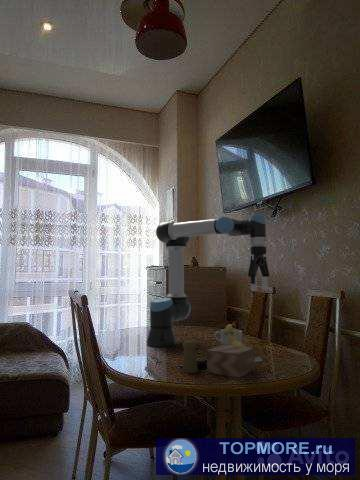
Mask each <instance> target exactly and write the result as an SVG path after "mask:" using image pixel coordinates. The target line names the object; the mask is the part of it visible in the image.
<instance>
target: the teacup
mask: <svg viewBox="0 0 360 480" xmlns="http://www.w3.org/2000/svg"><path fill="white" fill-rule="evenodd" d="M224 330H225V328H224V329H221V330H220V331H219V330H217V331H215V333H213V336H214V339H215V340H216V341H218V342H219V343H220V344H221V345H223V344H224V345H229V342H230V338H231V333H230V334H228V335H225V333H224ZM217 334H219V336H220V338H218V337H217ZM236 340H237V341H238V342H240V343H243V342H242V341H243V331H242V330H240V329H237V328H236Z"/></svg>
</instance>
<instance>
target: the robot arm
mask: <svg viewBox="0 0 360 480" xmlns="http://www.w3.org/2000/svg"><path fill="white" fill-rule="evenodd" d="M266 226H267V225H266V215H264V214H262V213H261V214H259V213H258V214H256V213H255V214H251V215H250V216H249V219H245V220H243V219H241V220H238V219H235V218H231V217H229V216H220V217H218V218H212V219H201V220H194V221H193V220H192V221H183V222H182V221H181V222H176V221H163V222H161V223H159V224H158V225H157V227H156V230H155V235H156V237H157V239H158V240H159V241H160V242H162V243H163V244H165V249H167V250H168V293H167V294H166V295H165V297H161V298H160V297H159V298H154V299H153V300H151V301H150V307H149V311H150V312H149V315H150V316H149V324H150V325H149V327H150V330H149V333H148V335H147V339H146V345H147V346H148V347H156V348H157V347H158V348H163V347H165V348H166V347H167V348H168V347H171V346H175V345H177V340H176V339H177V338H176V336H175V332H174V329H173V327H174V326H173V324H174V323H173V322H180V321H183V320H186V319H187V318H188V317H189V316H190V314H191V310H192V307H191V304H190V302H189V301H188V295H187V294H186V293H185V264H184V263H185V262H184V261H185V260H184V259H185V255H184V254H185V249H186V248H187V244H188V242H189V241H190V240H191V239H190V238H191V237H198V236H199V237H200V236H209V235H210V236H211V235H225V234H227V235H228V236H230V237H239V236H240V237H241V236H249V241H250V242H249V245H250V246H251V247H250V262H249V268H248V274H247V277H249V278H250V291H251V292H258V280H257V272H258V269H259V270H260V273H261V290H262V291H268V290H269V289H268V287H269V286H268V282H269V281H268V277H270V272H269V267H268V266H269V265H268V262H267V257H266V256H264V255H267V241H268V239H267V233H266V232H267V229H266Z"/></svg>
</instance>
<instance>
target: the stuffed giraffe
mask: <svg viewBox="0 0 360 480" xmlns="http://www.w3.org/2000/svg"><path fill="white" fill-rule="evenodd" d="M236 327H237V326H236V322H235V321H233V322H232V323H231V324H230V323H229V324H227V325H226V326H225V328H224V329H225V330H224V333H225V335H228V334H230V333H231V338H230V342H229V345H233V346H242V347H247V346H246V345H245V344H244V343H243V342H241V343H240V342H238V341H237V340H236V329H237V328H236ZM259 361H260V362H261V361H263V359H262V358H261V356H257V357H254V362H259Z"/></svg>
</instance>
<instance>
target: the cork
mask: <svg viewBox="0 0 360 480" xmlns="http://www.w3.org/2000/svg"><path fill="white" fill-rule="evenodd" d="M182 349H183V350H184V351H183V358H182V367H181V368H182V369H181V372H183V373H185V374H186V373H187V374H194V373H198V372H199V369H198V361H197V354H196V353H197V352H196V349H197V342H196V341H194V340H185V341H183V343H182Z"/></svg>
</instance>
